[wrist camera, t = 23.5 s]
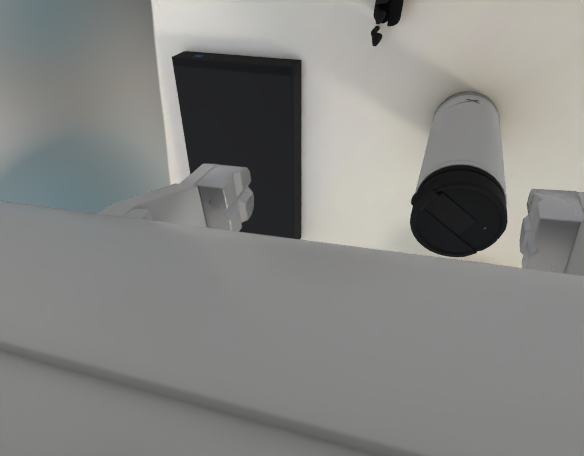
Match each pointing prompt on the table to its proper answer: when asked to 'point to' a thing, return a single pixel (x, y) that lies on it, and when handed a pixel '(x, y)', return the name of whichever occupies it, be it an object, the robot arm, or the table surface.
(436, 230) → the travel mug
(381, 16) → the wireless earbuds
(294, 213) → the external hard drive
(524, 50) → the table surface
